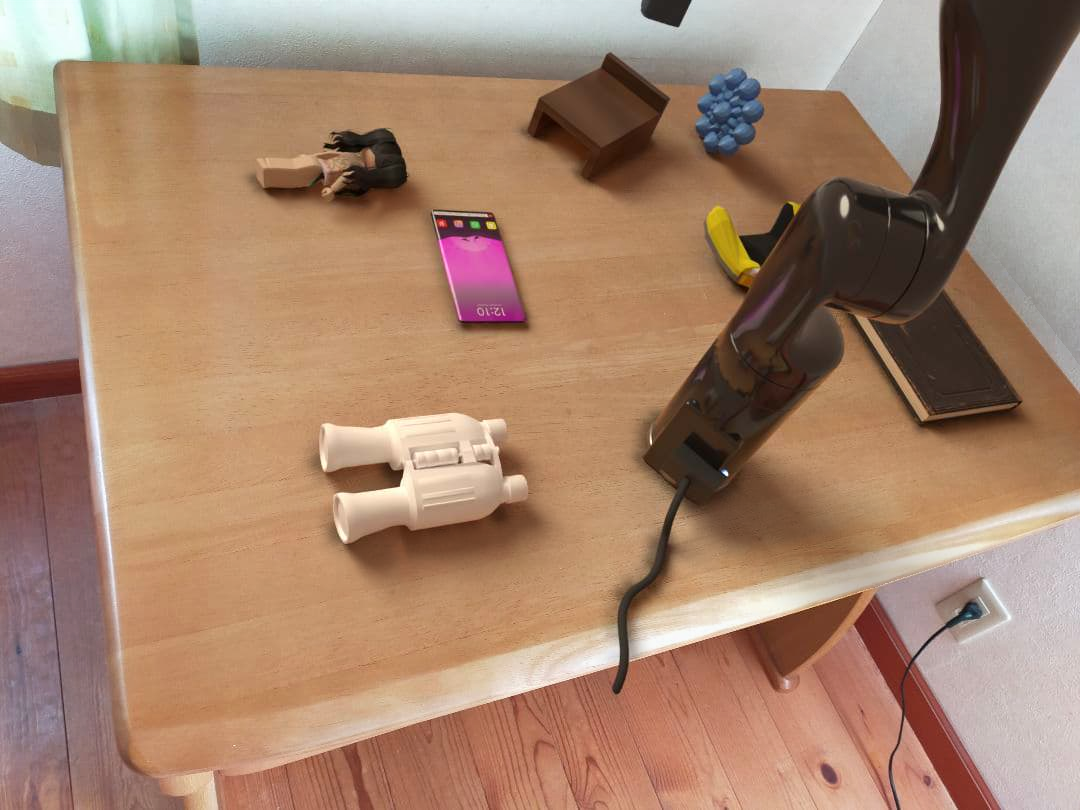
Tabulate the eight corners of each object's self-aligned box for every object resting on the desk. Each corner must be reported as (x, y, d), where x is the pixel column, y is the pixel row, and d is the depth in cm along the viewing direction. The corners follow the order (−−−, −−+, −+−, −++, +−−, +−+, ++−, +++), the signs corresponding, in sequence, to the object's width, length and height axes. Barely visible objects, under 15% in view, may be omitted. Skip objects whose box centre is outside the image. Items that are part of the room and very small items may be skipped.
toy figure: (280, 223, 87) (415, 195, 95) (279, 170, 83) (421, 145, 90) (253, 180, 91) (385, 157, 98) (250, 127, 86) (389, 107, 93)
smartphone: (492, 218, 97) (494, 212, 96) (526, 324, 89) (529, 318, 89) (428, 215, 94) (430, 209, 93) (458, 325, 86) (460, 319, 86)
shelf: (587, 180, 106) (608, 134, 101) (526, 131, 108) (544, 83, 103) (648, 142, 115) (670, 98, 109) (591, 97, 117) (610, 51, 111)
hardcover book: (918, 425, 100) (931, 414, 98) (822, 273, 110) (832, 260, 109) (1012, 410, 106) (1026, 400, 105) (913, 268, 117) (924, 256, 116)
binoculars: (313, 442, 74) (320, 411, 70) (488, 422, 81) (502, 393, 77) (339, 554, 69) (348, 527, 66) (523, 523, 76) (540, 496, 72)
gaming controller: (685, 235, 106) (724, 298, 102) (706, 201, 102) (747, 265, 97) (778, 228, 113) (818, 286, 109) (801, 196, 109) (844, 255, 104)
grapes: (751, 180, 117) (800, 106, 108) (710, 179, 114) (756, 103, 105) (715, 121, 123) (758, 46, 114) (675, 120, 120) (716, 42, 111)
